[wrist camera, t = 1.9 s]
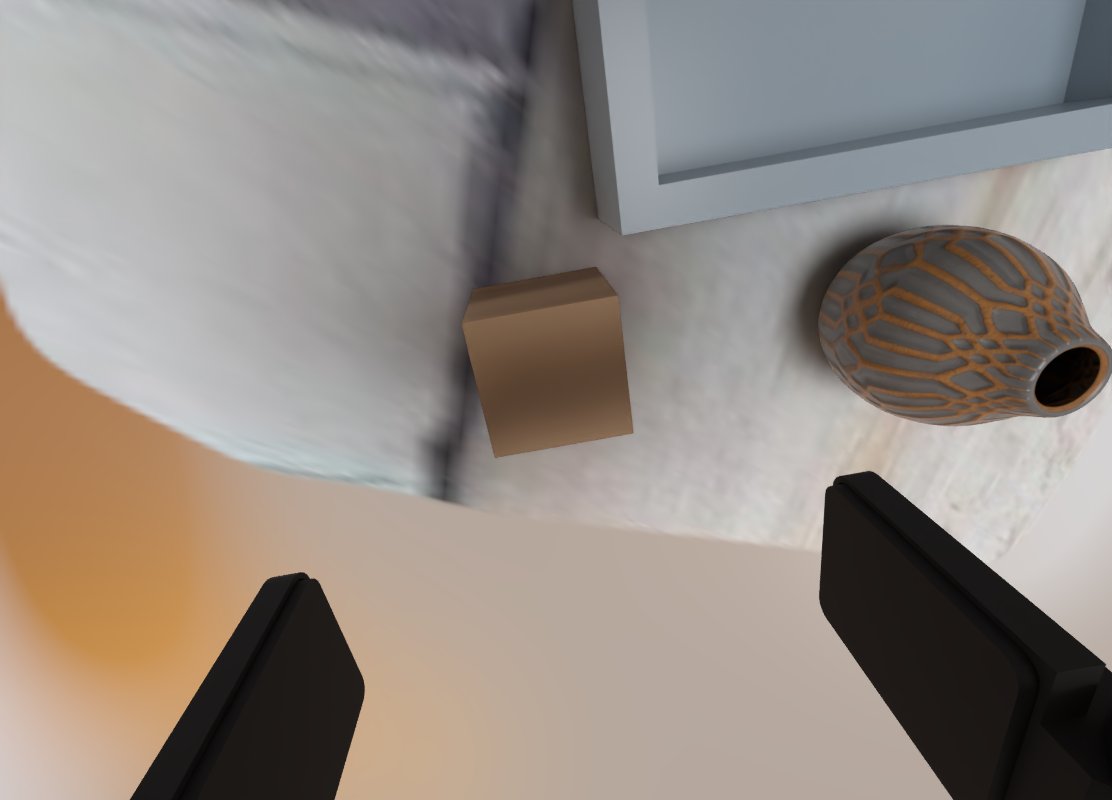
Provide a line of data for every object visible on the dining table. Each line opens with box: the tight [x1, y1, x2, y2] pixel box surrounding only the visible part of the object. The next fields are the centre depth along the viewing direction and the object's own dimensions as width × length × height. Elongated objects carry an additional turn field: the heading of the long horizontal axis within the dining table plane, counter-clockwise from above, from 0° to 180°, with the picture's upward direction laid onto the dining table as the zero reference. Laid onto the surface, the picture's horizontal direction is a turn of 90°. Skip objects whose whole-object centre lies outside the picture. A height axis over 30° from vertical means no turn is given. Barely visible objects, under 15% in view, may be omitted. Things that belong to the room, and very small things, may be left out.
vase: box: [818, 225, 1112, 426], centre depth 18 cm, size 7×7×9 cm
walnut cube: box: [461, 267, 633, 458], centre depth 20 cm, size 5×5×5 cm
